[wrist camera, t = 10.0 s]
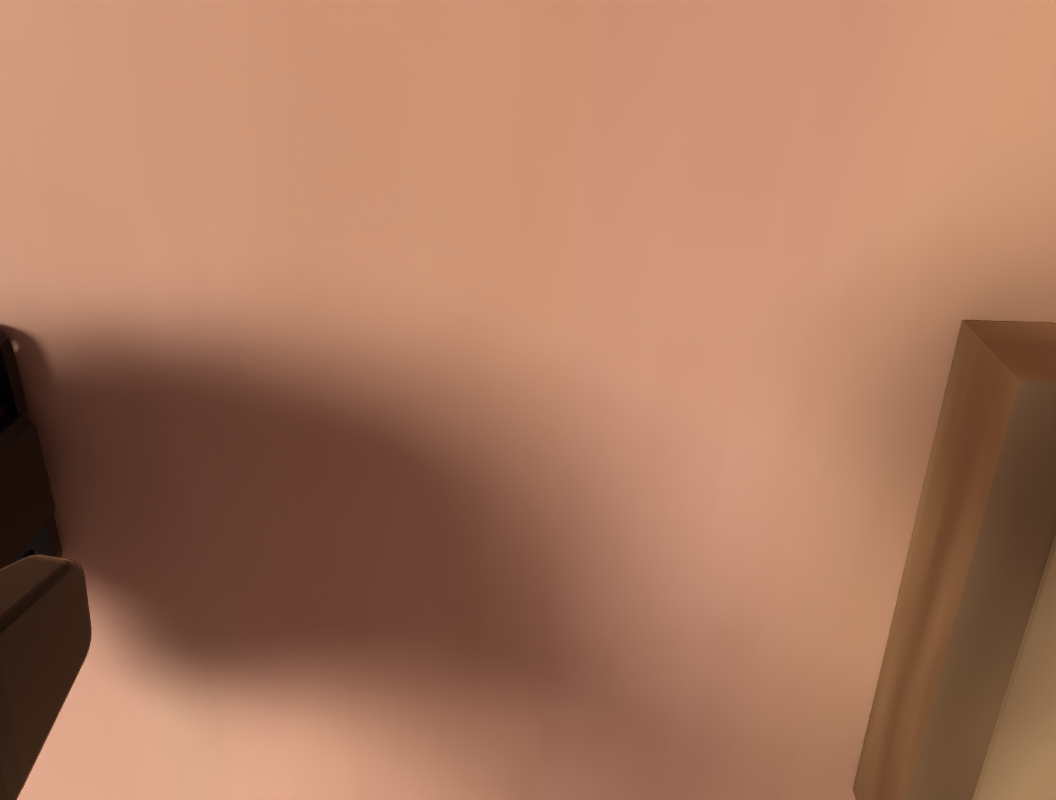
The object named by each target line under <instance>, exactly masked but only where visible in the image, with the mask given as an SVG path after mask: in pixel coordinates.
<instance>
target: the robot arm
mask: <svg viewBox="0 0 1056 800" xmlns="http://www.w3.org/2000/svg"><path fill="white" fill-rule="evenodd" d="M54 513H55V504H54V500H53V496H52V492H51V488H50V483H49V479H48V475H47V471H46V467H45V463H44V458H43V454H42V450H41V446H40V442H39V438H38V433H37V429H36V425H35V423H34V422H33V420H32V419H31V418H30V416H29V413H28V409H27V405H26V401H25V396H24V392H23V388H22V384H21V380H20V376H19V372H18V368H17V363H16V359H15V355H14V351H13V347H12V345H11V342H10V340H9V338H8V337H7V336H6V335H5V334H4V333H3V332H2V331H0V800H17V798H18V796H19V794H20V792H21V790H22V789H23V787H24V785H25V783H26V781H27V778H28V776H29V774H30V772H31V770H32V768H33V766H34V764H35V762H36V760H37V758H38V756H39V754H40V752H41V750H42V747H43V745H44V743H45V741H46V739H47V737H48V735H49V733H50V731H51V729H52V727H53V725H54V723H55V721H56V718H57V716H58V714H59V712H60V710H61V708H62V706H63V704H64V702H65V700H66V698H67V696H68V694H69V692H70V690H71V687H72V685H73V683H74V681H75V679H76V677H77V675H78V673H79V671H80V669H81V667H82V665H83V663H84V661H85V658H86V656H87V653H88V650H89V647H90V642H91V621H90V613H89V605H88V597H87V589H86V581H85V575H84V571H83V569H82V567H81V565H80V564H79V563H78V562H76V561H74V560H71V559H65V558H61V556H62V549H61V545H60V541H59V537H58V533H57V529H56V524H55V520H54V516H53V514H54ZM33 550H35V551H38V552H39V553H41V554H42V555H37V554H35V553H34V552H33Z"/></svg>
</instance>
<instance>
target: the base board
mask: <svg viewBox="0 0 1056 800" xmlns="http://www.w3.org/2000/svg"><path fill="white" fill-rule="evenodd" d="M853 791H854V794H855V798H856V800H1056V323H1041V322H1009V321H976V320H962V324H961V328H960V332H959V336H958V341H957V345H956V349H955V354H954V358H953V362H952V367H951V371H950V375H949V379H948V384H947V388H946V392H945V397H944V401H943V405H942V409H941V414H940V418H939V422H938V427H937V431H936V435H935V440H934V444H933V448H932V452H931V457H930V461H929V465H928V470H927V474H926V478H925V482H924V487H923V491H922V495H921V500H920V504H919V508H918V513H917V517H916V521H915V525H914V530H913V534H912V538H911V543H910V547H909V551H908V555H907V560H906V564H905V568H904V573H903V577H902V581H901V586H900V590H899V594H898V598H897V603H896V607H895V611H894V616H893V620H892V624H891V628H890V633H889V637H888V641H887V646H886V650H885V654H884V659H883V663H882V667H881V671H880V676H879V680H878V684H877V689H876V693H875V697H874V701H873V706H872V710H871V714H870V719H869V723H868V727H867V732H866V736H865V740H864V744H863V749H862V753H861V757H860V762H859V766H858V770H857V774H856V779H855V783H854V787H853Z"/></svg>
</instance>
